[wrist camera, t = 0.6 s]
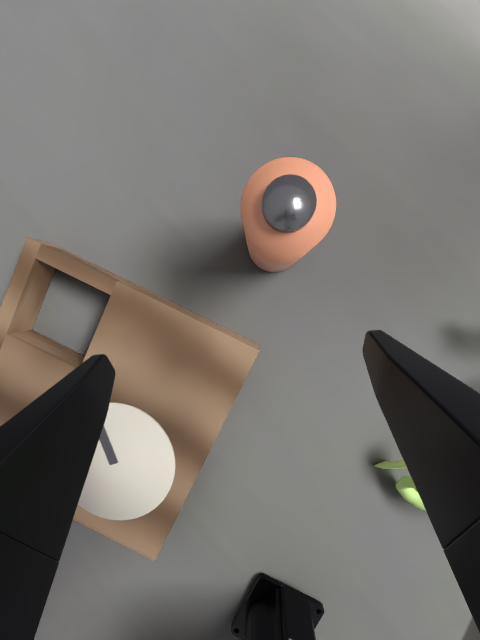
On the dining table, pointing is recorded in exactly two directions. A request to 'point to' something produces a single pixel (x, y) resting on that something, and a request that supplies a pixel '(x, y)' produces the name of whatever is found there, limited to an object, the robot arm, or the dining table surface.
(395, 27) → the dining table surface
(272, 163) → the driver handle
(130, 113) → the dining table surface
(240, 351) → the dial board
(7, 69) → the dining table surface
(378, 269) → the dining table surface
